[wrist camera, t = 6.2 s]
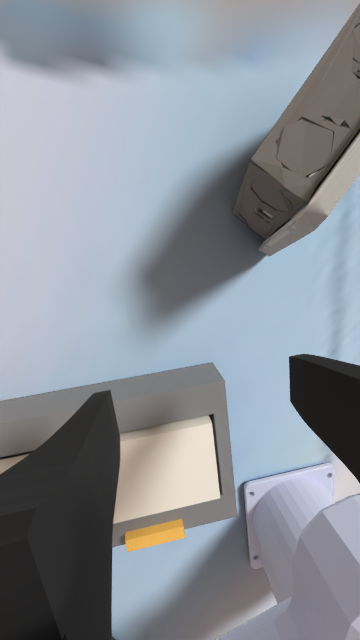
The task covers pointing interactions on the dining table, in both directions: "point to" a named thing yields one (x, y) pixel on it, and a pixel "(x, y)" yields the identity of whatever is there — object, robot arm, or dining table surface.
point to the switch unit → (136, 413)
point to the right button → (166, 468)
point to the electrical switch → (308, 150)
